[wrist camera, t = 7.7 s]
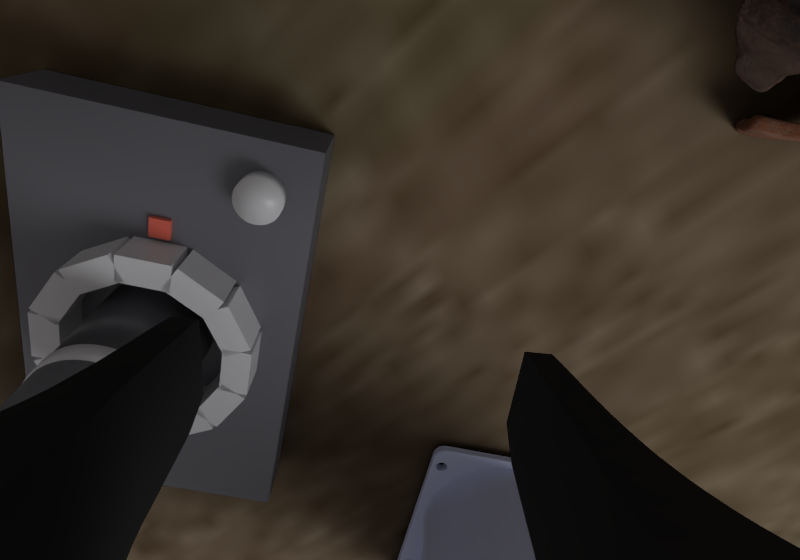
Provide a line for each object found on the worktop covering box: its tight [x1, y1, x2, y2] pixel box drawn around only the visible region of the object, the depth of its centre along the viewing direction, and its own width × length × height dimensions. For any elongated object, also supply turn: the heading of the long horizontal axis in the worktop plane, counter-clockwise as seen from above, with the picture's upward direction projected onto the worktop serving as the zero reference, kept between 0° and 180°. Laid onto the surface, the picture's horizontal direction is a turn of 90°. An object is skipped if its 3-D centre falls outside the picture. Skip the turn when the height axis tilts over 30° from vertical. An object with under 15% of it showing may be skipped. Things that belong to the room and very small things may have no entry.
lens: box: [0, 284, 213, 411], centre depth 18 cm, size 4×4×6 cm
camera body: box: [0, 69, 335, 503], centre depth 21 cm, size 16×10×4 cm, turn 167°
